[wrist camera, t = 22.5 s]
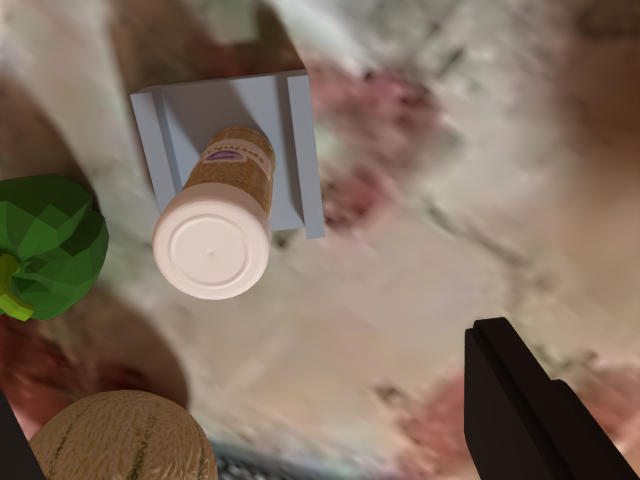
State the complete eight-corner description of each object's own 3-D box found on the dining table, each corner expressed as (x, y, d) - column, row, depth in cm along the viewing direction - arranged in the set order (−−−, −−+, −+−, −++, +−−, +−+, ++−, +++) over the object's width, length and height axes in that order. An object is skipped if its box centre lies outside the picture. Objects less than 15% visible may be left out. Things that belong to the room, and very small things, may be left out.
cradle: (305, 68, 31) (308, 75, 27) (321, 214, 35) (325, 237, 31) (148, 86, 30) (130, 94, 27) (182, 230, 35) (170, 254, 31)
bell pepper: (-27, 182, 32) (-150, 244, 23) (84, 141, 32) (2, 189, 23) (43, 284, 36) (-41, 374, 27) (144, 249, 35) (94, 329, 26)
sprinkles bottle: (261, 114, 30) (244, 181, 17) (285, 182, 32) (286, 285, 19) (192, 137, 30) (127, 219, 18) (220, 203, 32) (179, 317, 20)
